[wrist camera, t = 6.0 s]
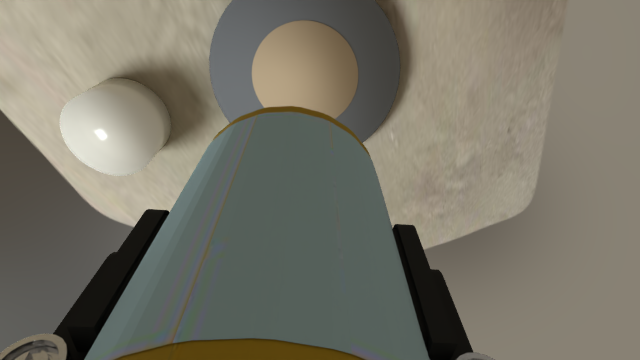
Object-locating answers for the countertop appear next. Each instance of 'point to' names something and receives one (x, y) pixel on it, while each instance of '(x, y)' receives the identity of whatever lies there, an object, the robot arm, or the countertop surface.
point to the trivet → (307, 59)
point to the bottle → (271, 255)
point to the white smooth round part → (116, 126)
